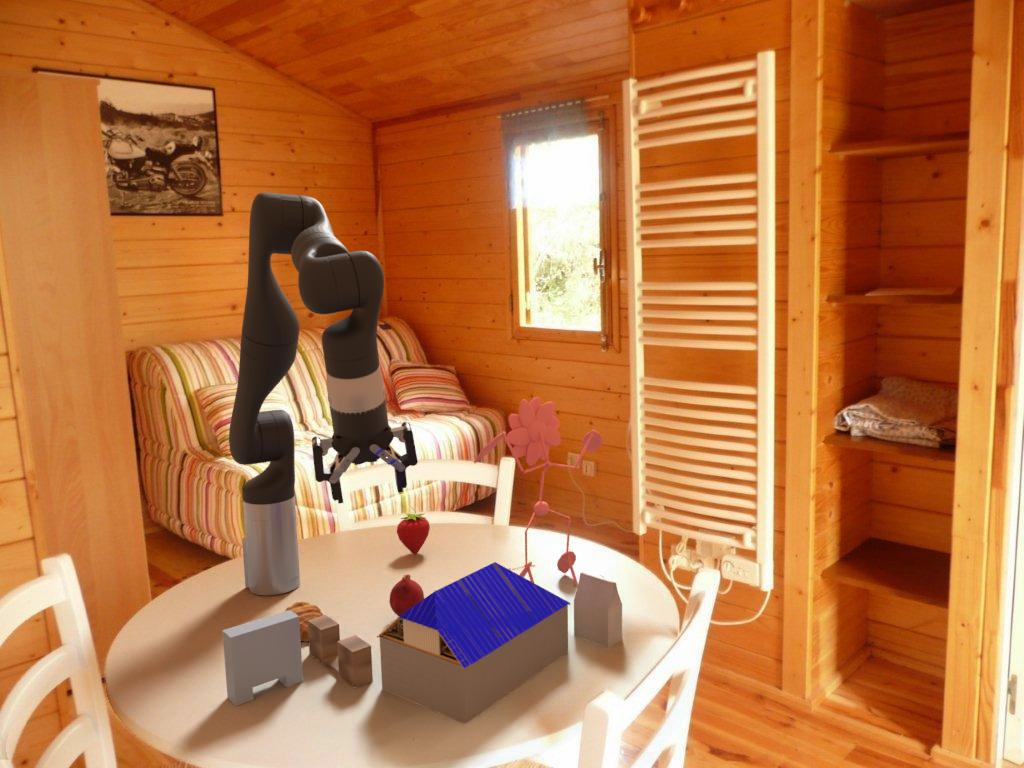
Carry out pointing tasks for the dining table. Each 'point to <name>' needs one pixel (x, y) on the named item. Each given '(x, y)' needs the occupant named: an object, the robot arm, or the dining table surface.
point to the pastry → (305, 616)
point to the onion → (405, 595)
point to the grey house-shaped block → (597, 611)
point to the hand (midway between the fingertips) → (370, 494)
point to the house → (473, 642)
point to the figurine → (533, 441)
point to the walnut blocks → (340, 651)
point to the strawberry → (413, 531)
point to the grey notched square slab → (262, 654)
